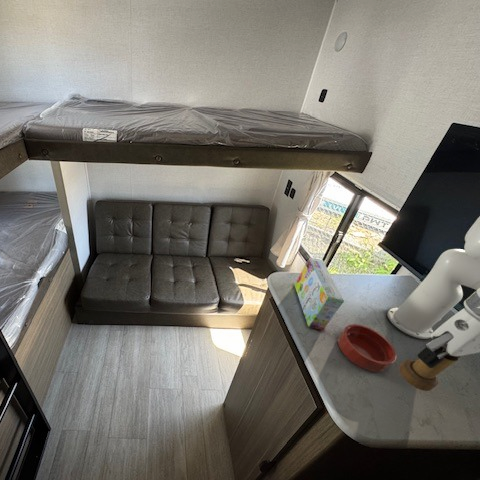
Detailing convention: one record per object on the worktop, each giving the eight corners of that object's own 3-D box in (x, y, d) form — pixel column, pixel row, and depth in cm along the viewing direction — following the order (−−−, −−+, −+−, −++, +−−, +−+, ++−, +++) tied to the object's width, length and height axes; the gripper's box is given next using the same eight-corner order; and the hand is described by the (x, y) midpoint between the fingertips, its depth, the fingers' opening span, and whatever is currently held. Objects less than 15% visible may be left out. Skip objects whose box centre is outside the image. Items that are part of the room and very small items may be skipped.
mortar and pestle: (439, 390, 60) (501, 348, 50) (414, 392, 60) (472, 350, 49) (414, 363, 66) (466, 320, 55) (392, 364, 65) (439, 321, 55)
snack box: (324, 331, 86) (345, 301, 77) (307, 327, 87) (326, 297, 78) (307, 287, 103) (323, 258, 95) (293, 284, 104) (307, 256, 95)
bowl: (361, 331, 87) (369, 322, 84) (397, 369, 76) (407, 360, 73) (327, 336, 84) (334, 326, 82) (360, 376, 74) (369, 367, 71)
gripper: (486, 332, 44) (419, 382, 55) (555, 320, 47) (478, 370, 57) (440, 299, 50) (388, 350, 61) (504, 290, 53) (443, 341, 63)
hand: (432, 359), depth 59 cm, fingers closed on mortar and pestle, 3 cm apart
